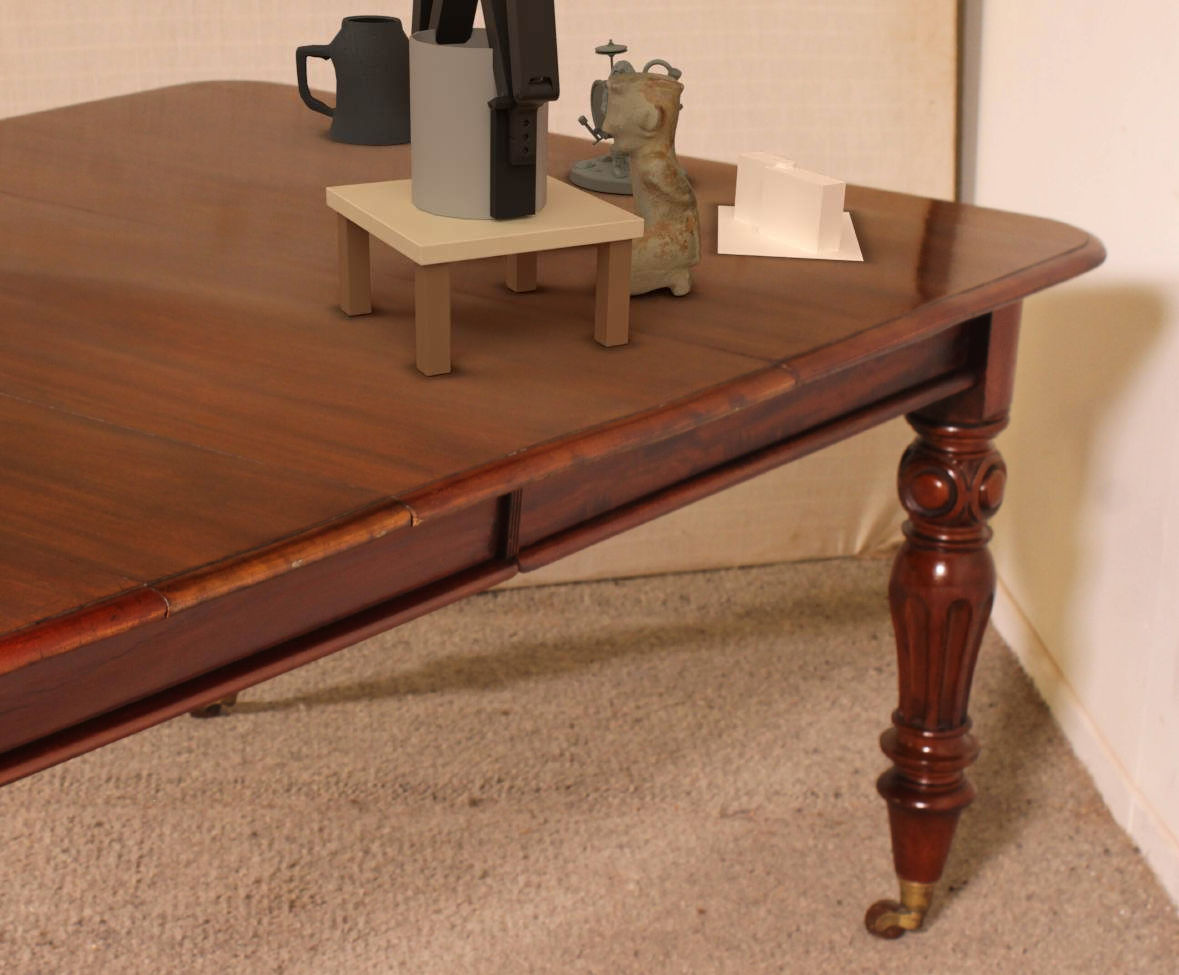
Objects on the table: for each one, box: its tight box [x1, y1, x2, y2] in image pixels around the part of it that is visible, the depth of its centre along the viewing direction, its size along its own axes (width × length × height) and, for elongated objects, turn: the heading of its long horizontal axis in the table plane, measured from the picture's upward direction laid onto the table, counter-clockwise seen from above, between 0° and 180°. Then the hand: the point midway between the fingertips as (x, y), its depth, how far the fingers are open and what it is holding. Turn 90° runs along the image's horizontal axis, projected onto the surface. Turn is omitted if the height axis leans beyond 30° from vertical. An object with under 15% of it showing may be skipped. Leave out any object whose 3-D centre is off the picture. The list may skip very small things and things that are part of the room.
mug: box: [295, 14, 411, 146], centre depth 147 cm, size 12×9×11 cm
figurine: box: [569, 38, 688, 195], centre depth 133 cm, size 11×11×12 cm
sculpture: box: [595, 71, 702, 297], centre depth 102 cm, size 6×7×15 cm
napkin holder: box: [717, 151, 865, 262], centre depth 120 cm, size 15×11×6 cm
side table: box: [325, 174, 644, 377], centre depth 96 cm, size 15×15×8 cm
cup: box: [408, 27, 550, 219], centre depth 92 cm, size 8×8×10 cm
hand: (480, 198), depth 94 cm, fingers closed on cup, 8 cm apart
